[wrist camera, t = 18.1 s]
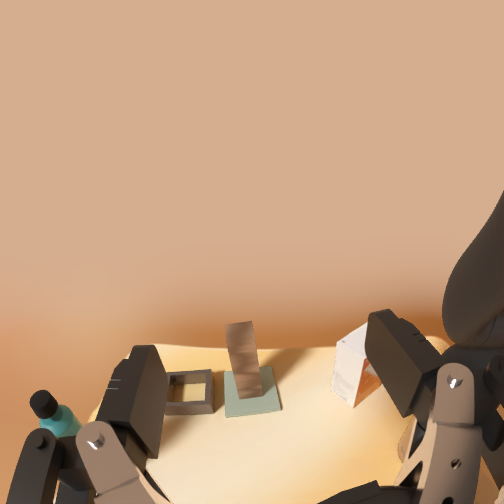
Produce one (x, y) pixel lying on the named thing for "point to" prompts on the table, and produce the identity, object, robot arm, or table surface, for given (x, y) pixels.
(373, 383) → the small box
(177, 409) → the holder
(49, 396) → the beverage bottle
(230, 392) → the mat
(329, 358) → the table surface
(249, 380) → the walnut post
